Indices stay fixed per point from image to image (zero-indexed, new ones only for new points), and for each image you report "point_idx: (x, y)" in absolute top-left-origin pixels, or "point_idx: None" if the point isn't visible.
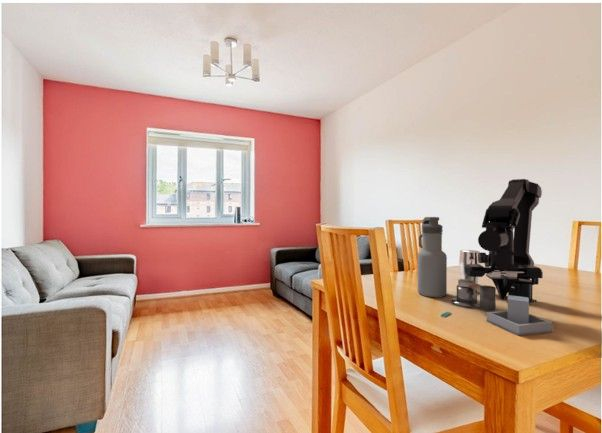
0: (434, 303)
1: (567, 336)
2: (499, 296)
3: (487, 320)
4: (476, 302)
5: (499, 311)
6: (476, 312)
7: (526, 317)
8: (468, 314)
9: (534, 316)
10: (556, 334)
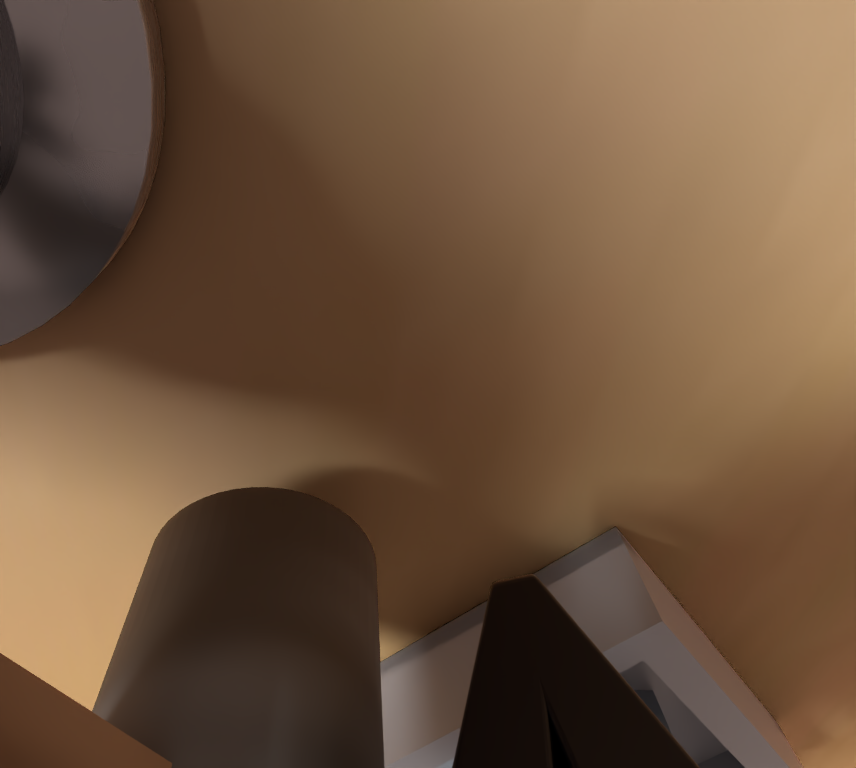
0: None
1: (840, 746)
2: (484, 632)
3: None
4: (11, 148)
5: (406, 761)
6: (125, 511)
7: None
8: (46, 620)
9: (750, 753)
10: None
